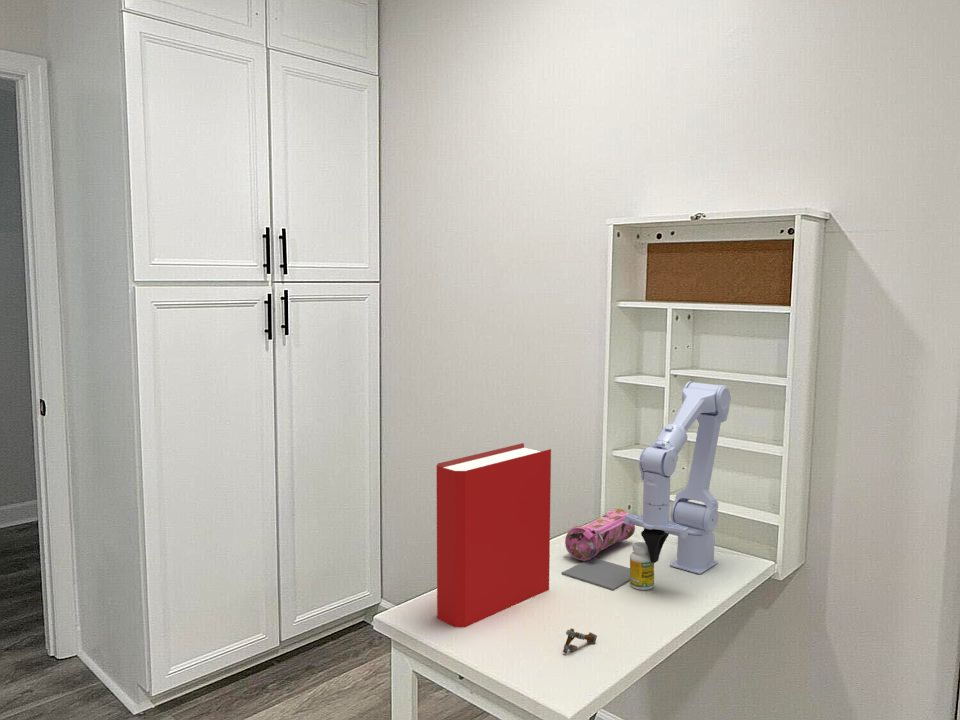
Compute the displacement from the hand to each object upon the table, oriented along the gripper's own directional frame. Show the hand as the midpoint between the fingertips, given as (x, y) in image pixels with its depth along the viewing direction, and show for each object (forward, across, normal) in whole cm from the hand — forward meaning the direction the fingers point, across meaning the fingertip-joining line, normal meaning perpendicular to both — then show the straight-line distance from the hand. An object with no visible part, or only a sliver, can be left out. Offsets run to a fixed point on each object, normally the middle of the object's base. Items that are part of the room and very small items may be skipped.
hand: (654, 561), depth 176 cm
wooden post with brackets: (+7, +3, -33) cm, 34 cm away
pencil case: (+6, -22, +12) cm, 26 cm away
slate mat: (+6, -14, 0) cm, 15 cm away
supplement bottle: (+7, -3, 0) cm, 7 cm away
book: (+7, -22, -29) cm, 37 cm away
